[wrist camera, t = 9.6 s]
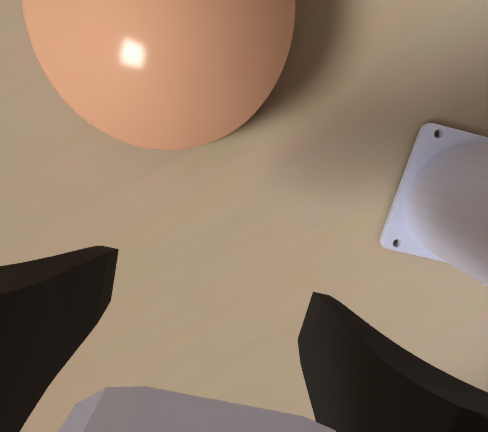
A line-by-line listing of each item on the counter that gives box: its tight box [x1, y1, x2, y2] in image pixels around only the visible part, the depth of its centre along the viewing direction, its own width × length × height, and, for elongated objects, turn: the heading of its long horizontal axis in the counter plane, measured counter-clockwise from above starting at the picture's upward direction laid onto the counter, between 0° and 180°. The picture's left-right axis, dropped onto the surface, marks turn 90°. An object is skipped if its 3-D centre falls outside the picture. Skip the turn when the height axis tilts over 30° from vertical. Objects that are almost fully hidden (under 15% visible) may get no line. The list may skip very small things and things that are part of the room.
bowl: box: [22, 0, 295, 150], centre depth 16 cm, size 12×12×4 cm
